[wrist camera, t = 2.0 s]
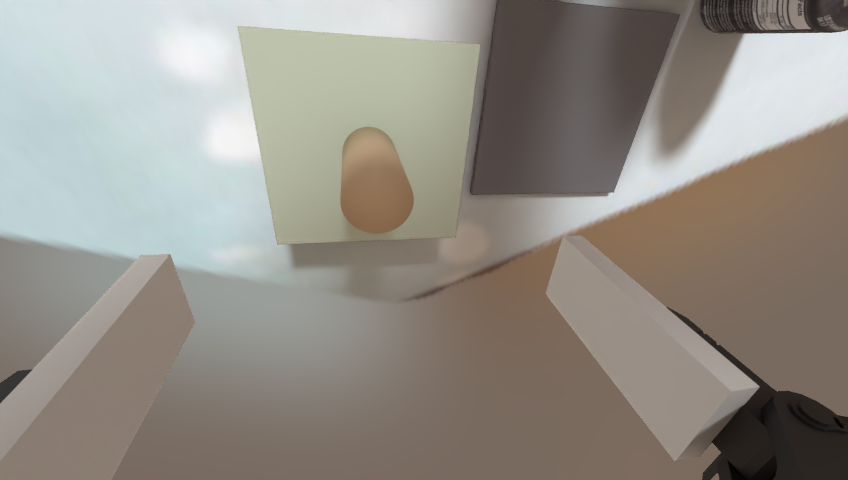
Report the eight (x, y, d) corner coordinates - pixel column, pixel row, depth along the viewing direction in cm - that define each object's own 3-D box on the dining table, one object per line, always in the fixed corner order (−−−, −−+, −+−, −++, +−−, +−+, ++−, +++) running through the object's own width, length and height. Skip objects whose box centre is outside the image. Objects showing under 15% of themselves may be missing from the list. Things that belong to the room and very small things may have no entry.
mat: (497, -4, 24) (501, -5, 24) (674, 14, 27) (680, 14, 27) (469, 192, 32) (471, 194, 31) (609, 190, 35) (613, 192, 34)
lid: (241, 26, 19) (174, 21, 12) (476, 43, 22) (541, 49, 15) (278, 239, 26) (252, 319, 19) (453, 232, 29) (488, 300, 22)
